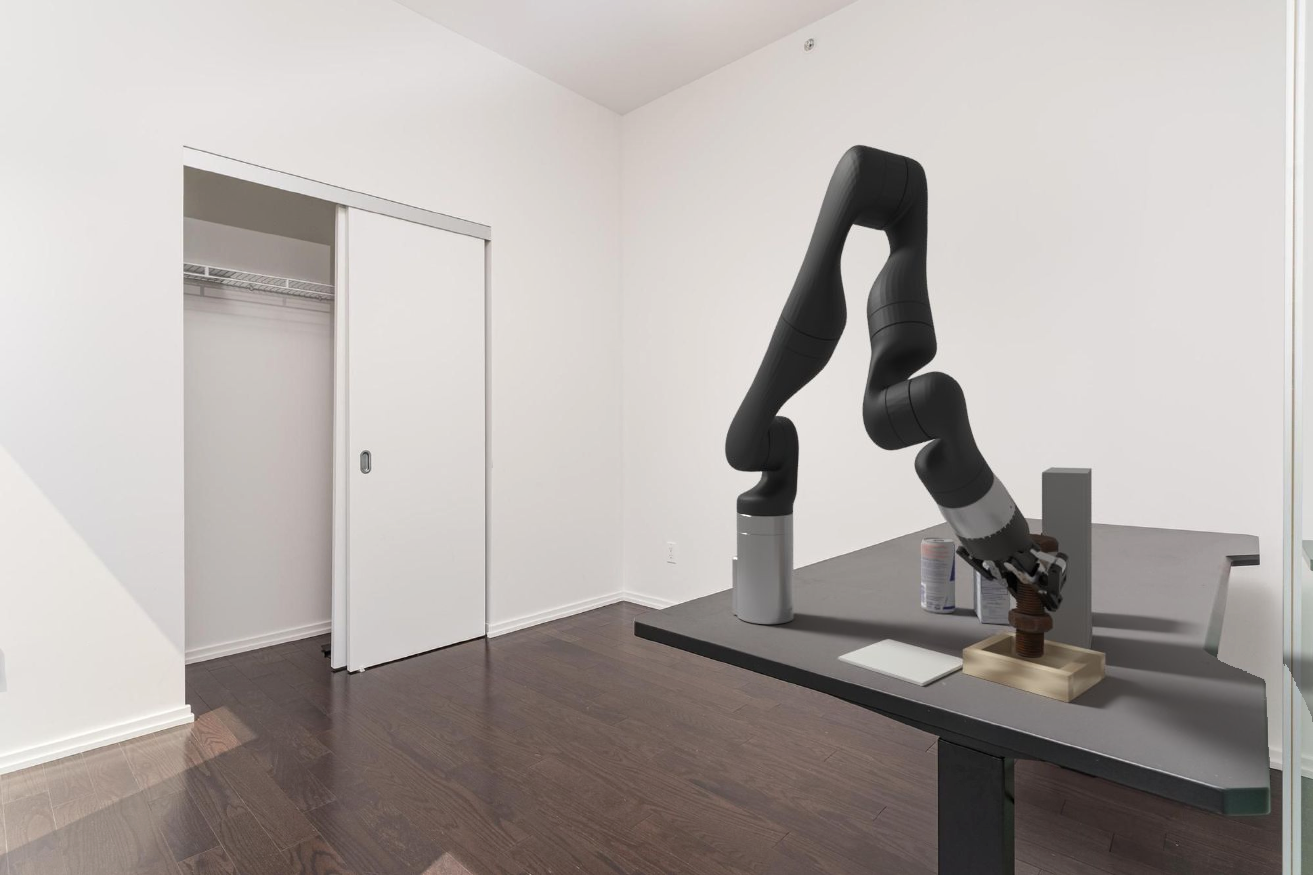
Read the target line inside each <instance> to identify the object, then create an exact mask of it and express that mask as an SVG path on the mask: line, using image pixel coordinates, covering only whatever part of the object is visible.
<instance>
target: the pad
mask: <svg viewBox="0 0 1313 875" xmlns="http://www.w3.org/2000/svg"><path fill="white" fill-rule="evenodd" d="M837 661H840V662H843V663H846V664H849V665H853V666H856V667H860V668H862V669H865V670H869V671H872V672H875V673H879V674H882V675H885V676H888V677H892V678H895V679H898V680H901V681H904V682H908V683H911V684H913V685H918V686H920V687H924V686H926V685H928V684H930V683H932V682H935V681H937V680H939V679H941V678H943V677H945V676H947V675H949V674H951V673H954V672H955V671H957V670H960V669H963V657H962V658H961V657H957V656H954V655H950V654H945V653H942V652H940V651H939V652H938V651H935V650H930V649H928V648H923V647H919V646H915V645H912V644H908V643H904V642H901V641H897V640H894V639H890V638H887V639H884V640H881V641H878V642H875V643H873V644H870V645H867V646H864V647H862V648H859V649H856V650H853V651H850V652H848V653H845V654H843V655H840V656H838V657H837Z"/></svg>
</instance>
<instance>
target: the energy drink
mask: <svg viewBox="0 0 1313 875" xmlns="http://www.w3.org/2000/svg"><path fill="white" fill-rule="evenodd" d="M920 598H921V600H920V603H921V604H920V606H921V608H922V609H923V610H924V611H925V612H929V613H933V614H943V615H944V614H945V615H946V614H952V613H954V611H955V610H956V545H955V542H954V539H951V538H946V537H924V538H922V541H921V543H920Z"/></svg>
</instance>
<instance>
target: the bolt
mask: <svg viewBox="0 0 1313 875" xmlns="http://www.w3.org/2000/svg"><path fill="white" fill-rule="evenodd" d="M1030 537H1031V540H1032V541H1033V542H1035V543H1036V544H1037V545H1038V546H1039V547H1040V548H1041V550H1042V552H1044V553H1046V554H1047V553H1049V552H1058V546H1059V543H1058V541H1057V540H1056V539H1055V538H1054V537H1050V536H1045V535H1041V534H1038V533H1030ZM1016 578H1018V577H1016ZM1041 579H1042V578H1041V577H1039V579H1038V581H1039V582H1040V580H1041ZM1017 581H1018V582H1016V583H1017V585H1016V586H1017V587H1016V588H1017V590H1016V591H1017V593H1016V594H1017V595H1016V596H1017V598H1016V599H1017V601H1016V599H1015V602H1016V603H1015V605H1016V606H1015V607H1016V608H1012V609H1011V608H1010V611H1009V612H1008V621H1009V623H1010V624H1009V625H1010V626H1011V627H1012V628H1014V629H1015V632H1014V633H1016V635H1015V636H1016V638H1015V639H1016V640H1015V641H1016V643H1015V644H1016V645H1015V649H1016V650H1015V652H1016V653H1017V654H1018V655H1019V656H1021V657H1026V658H1040V657H1042V655H1044V653H1043V652H1044V648H1043V647H1044V632H1048V631H1050V630H1051V629H1053V619H1052V617H1051V616H1050V614H1048V613H1047V612H1045V608H1044V607H1045V606H1044V604H1043V603H1042V601H1041V599H1040V598H1039V596H1038V595H1037V592H1036V591H1035V590H1034V589H1033V588H1032V587H1031V586H1030V585H1029V584H1024V583H1023V582H1022V581H1021V580H1020V579H1019V578H1018V579H1017Z"/></svg>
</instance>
